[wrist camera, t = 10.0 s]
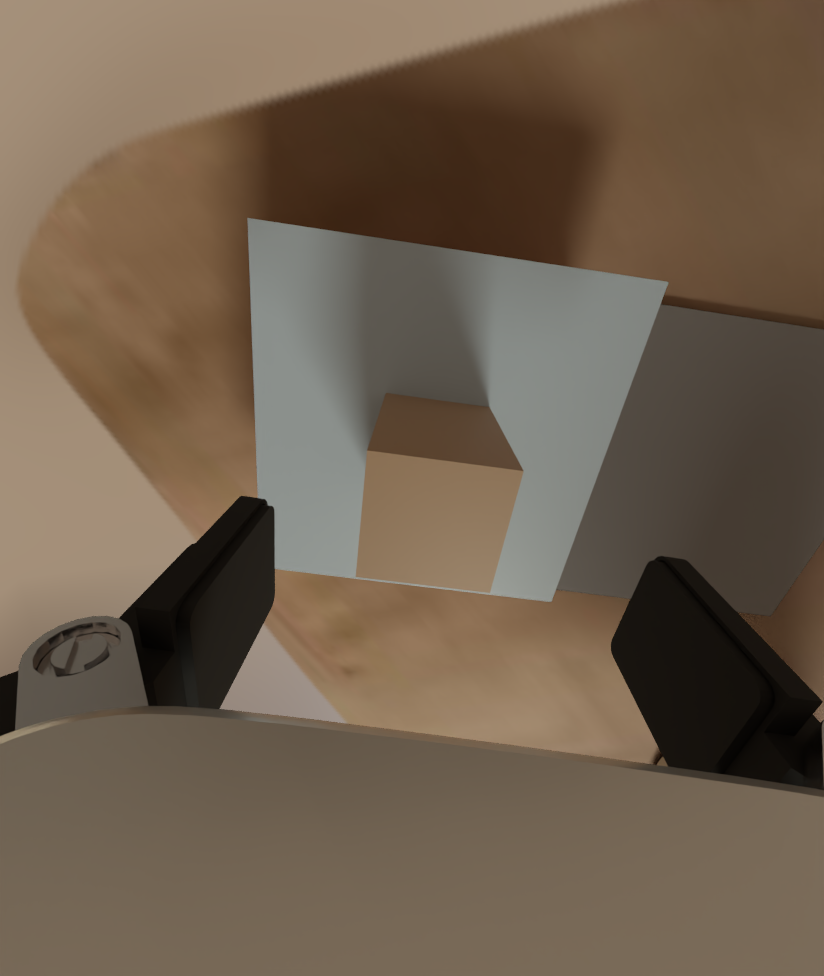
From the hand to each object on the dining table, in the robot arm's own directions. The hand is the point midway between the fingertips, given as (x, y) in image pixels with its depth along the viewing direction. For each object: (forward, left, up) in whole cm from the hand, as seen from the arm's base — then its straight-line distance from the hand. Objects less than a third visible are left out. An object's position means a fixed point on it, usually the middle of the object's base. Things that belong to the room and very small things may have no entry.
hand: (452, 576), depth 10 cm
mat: (-15, +1, -13) cm, 20 cm away
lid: (+1, -1, -8) cm, 8 cm away
